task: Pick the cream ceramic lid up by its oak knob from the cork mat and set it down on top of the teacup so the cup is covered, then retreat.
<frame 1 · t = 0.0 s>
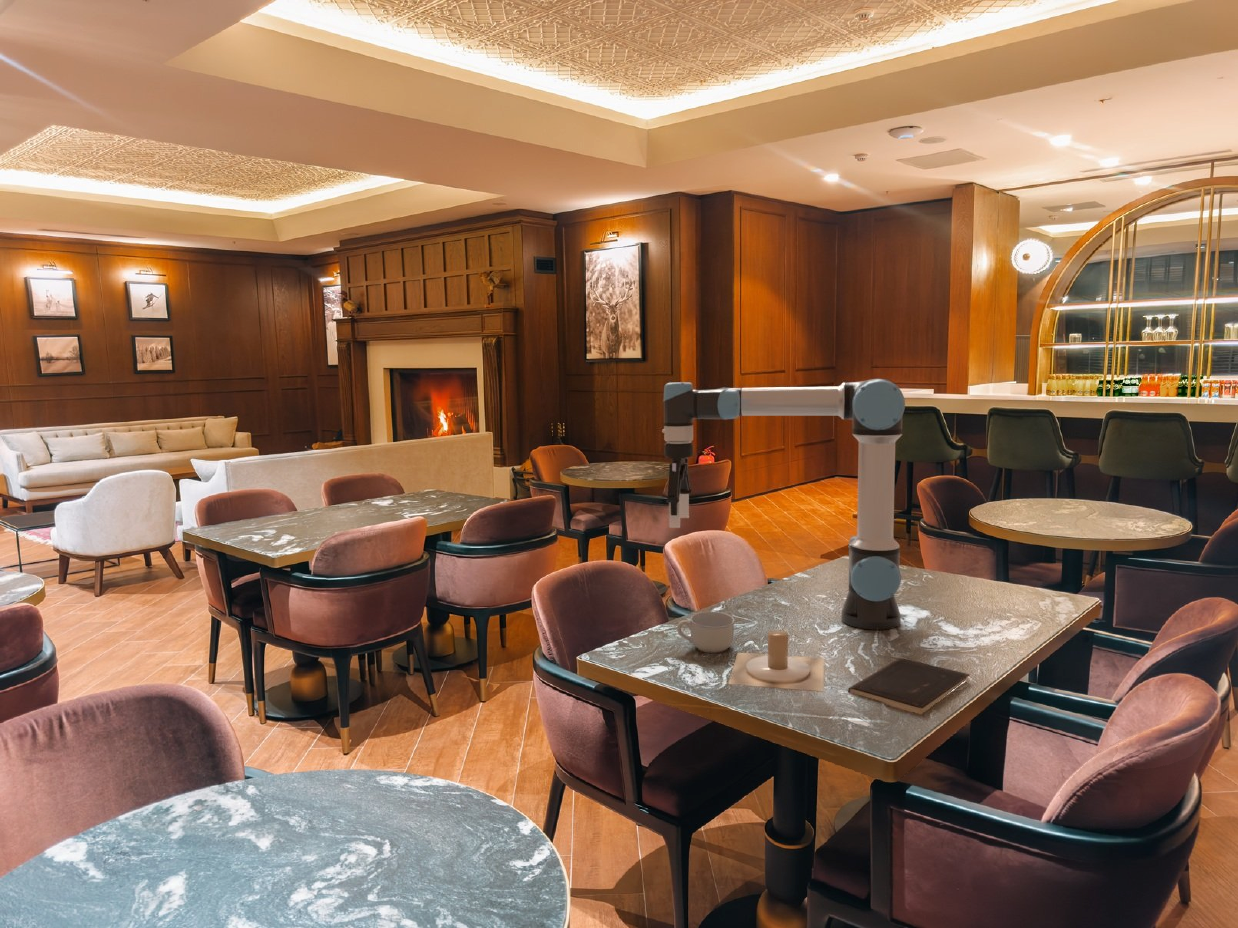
hand: (679, 522, 216), 28 cm above the table, fingers open, 13 cm apart
lid: (777, 670, 185), resting on mat
teacup: (705, 650, 201), on the table
hardcover book: (909, 691, 175), on the table
mat: (777, 672, 185), on the table
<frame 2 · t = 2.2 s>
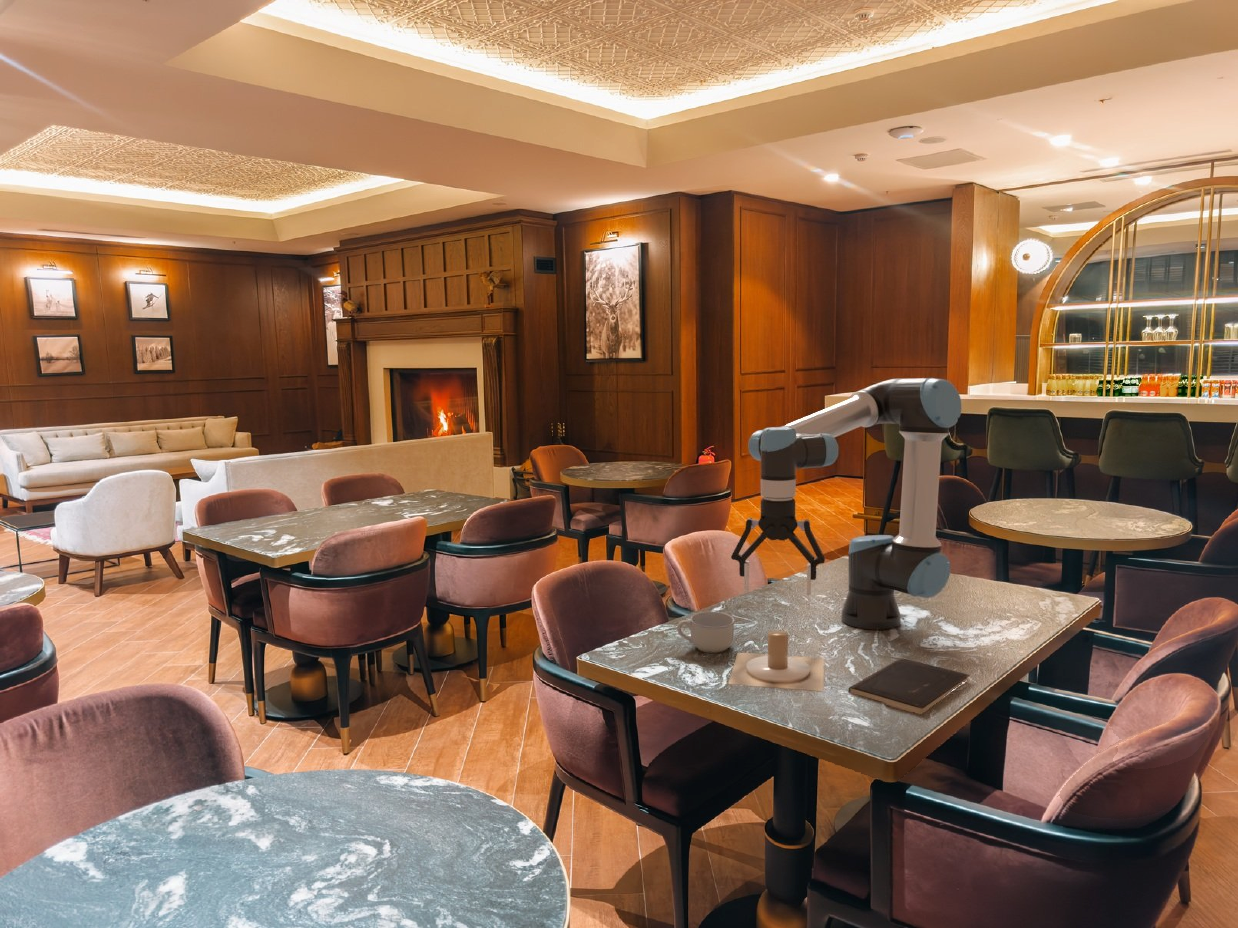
hand: (777, 592, 183), 18 cm above the table, fingers open, 13 cm apart
nothing on the table moved.
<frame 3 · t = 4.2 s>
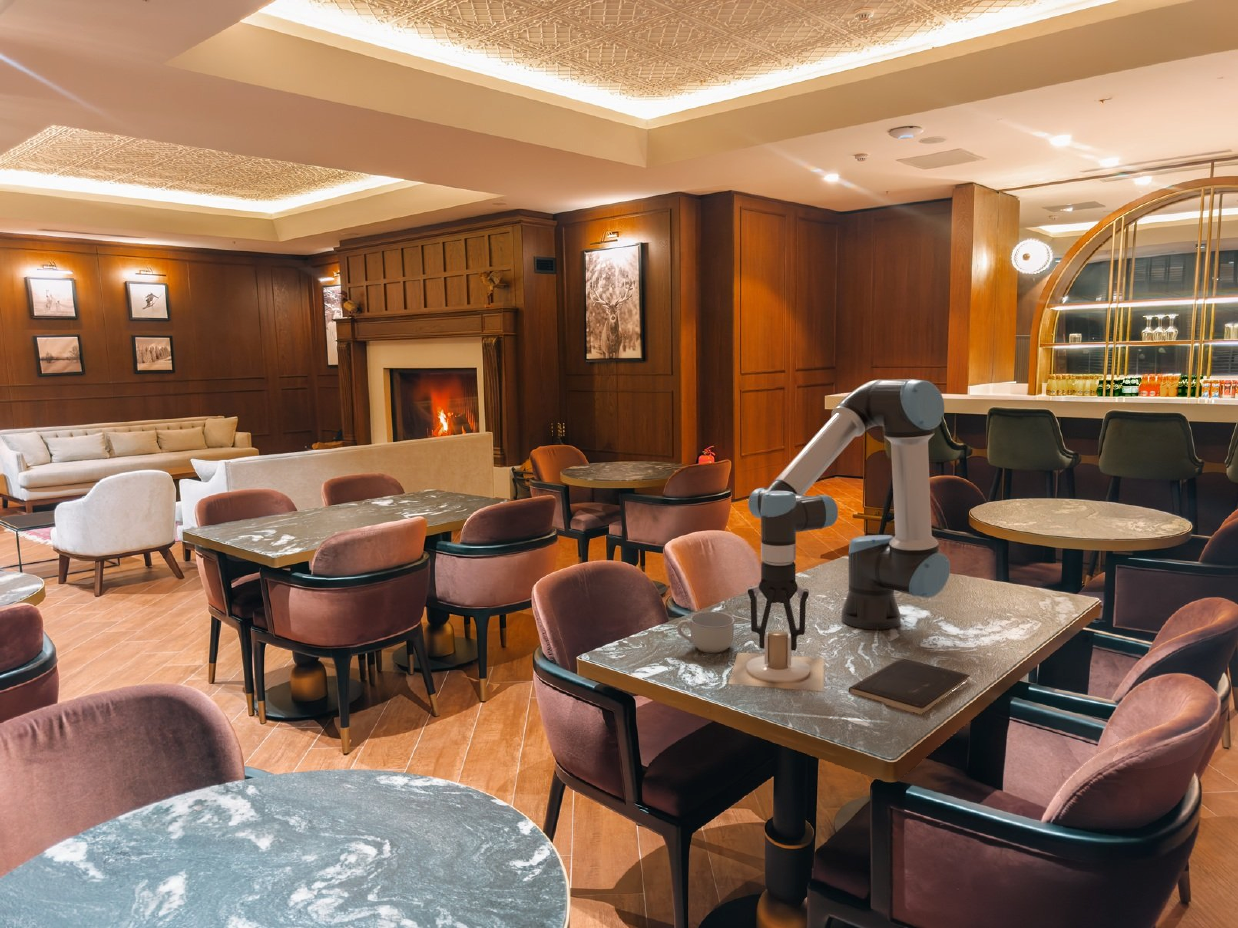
hand: (777, 662, 185), 2 cm above the table, fingers closed on lid, 4 cm apart
lid: (777, 670, 185), resting on mat, touching gripper
everything else where it was.
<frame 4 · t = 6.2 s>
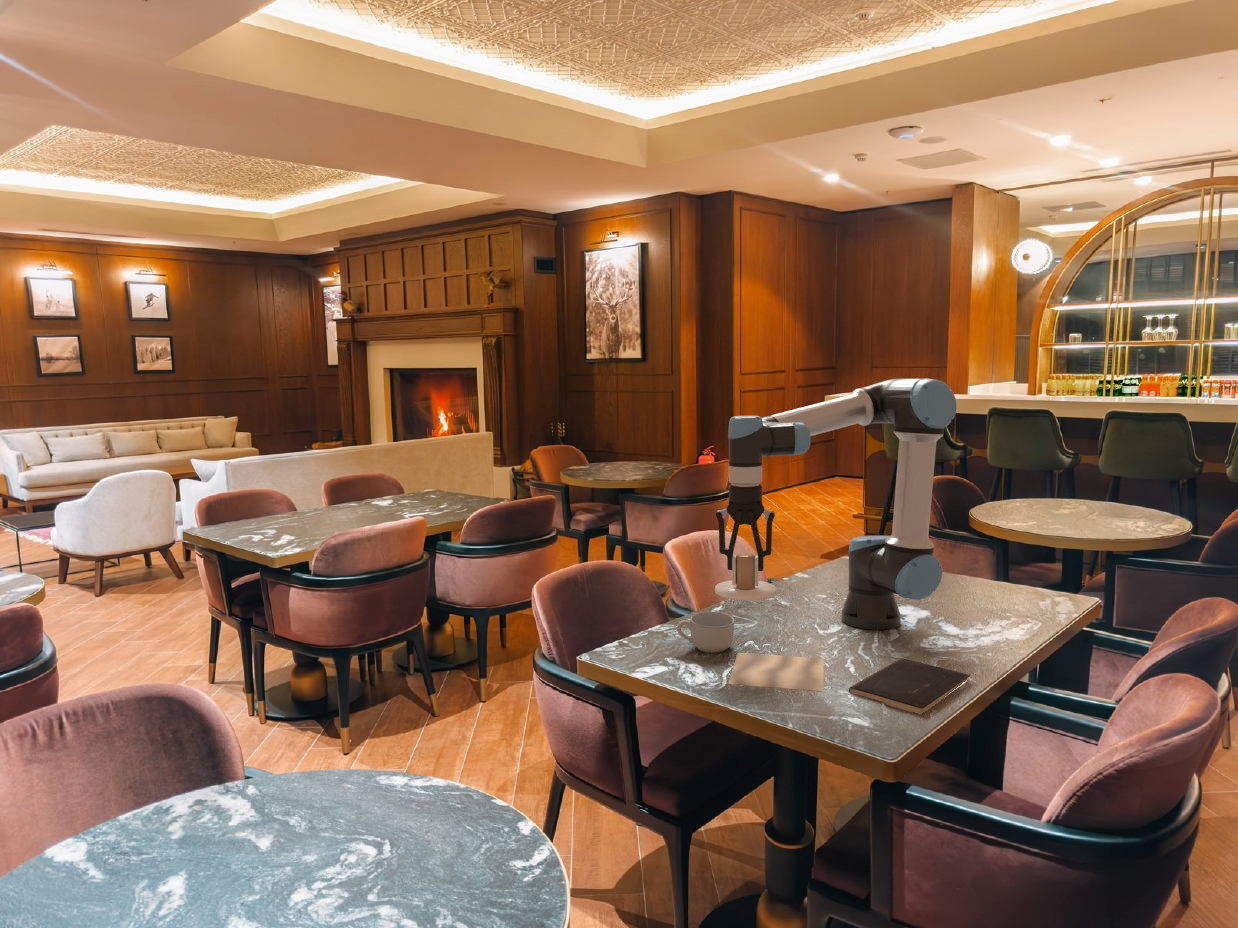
hand: (745, 583, 189), 19 cm above the table, fingers closed on lid, 4 cm apart
lid: (745, 591, 190), point 17 cm above the table, touching gripper
everything else where it was.
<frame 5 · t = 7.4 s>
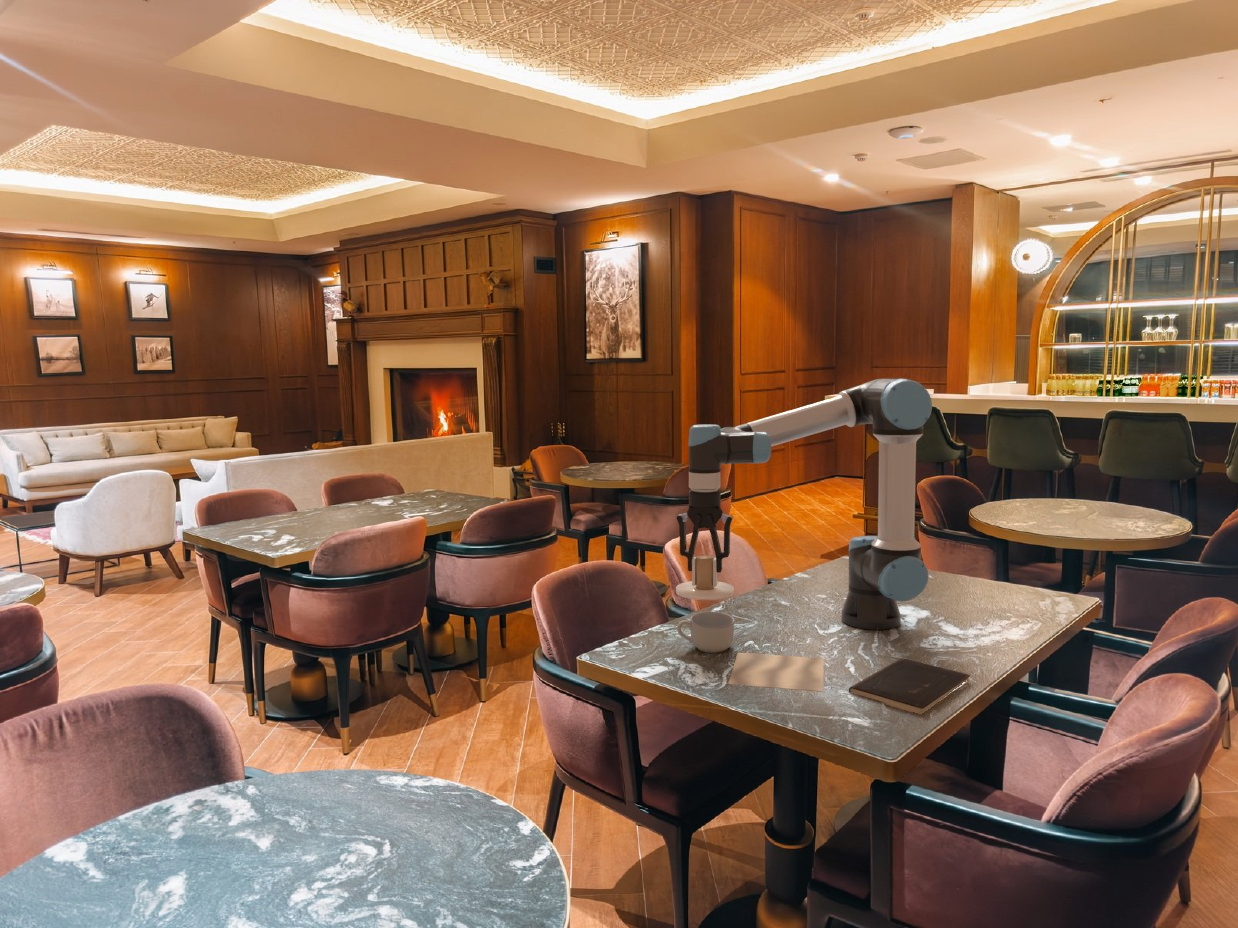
hand: (704, 584, 199), 16 cm above the table, fingers closed on lid, 4 cm apart
lid: (704, 591, 199), point 14 cm above the table, touching gripper
everything else where it was.
when the fingers open (11 cm above the table, at t = 8.4 s): lid drops 2 cm, resting on teacup.
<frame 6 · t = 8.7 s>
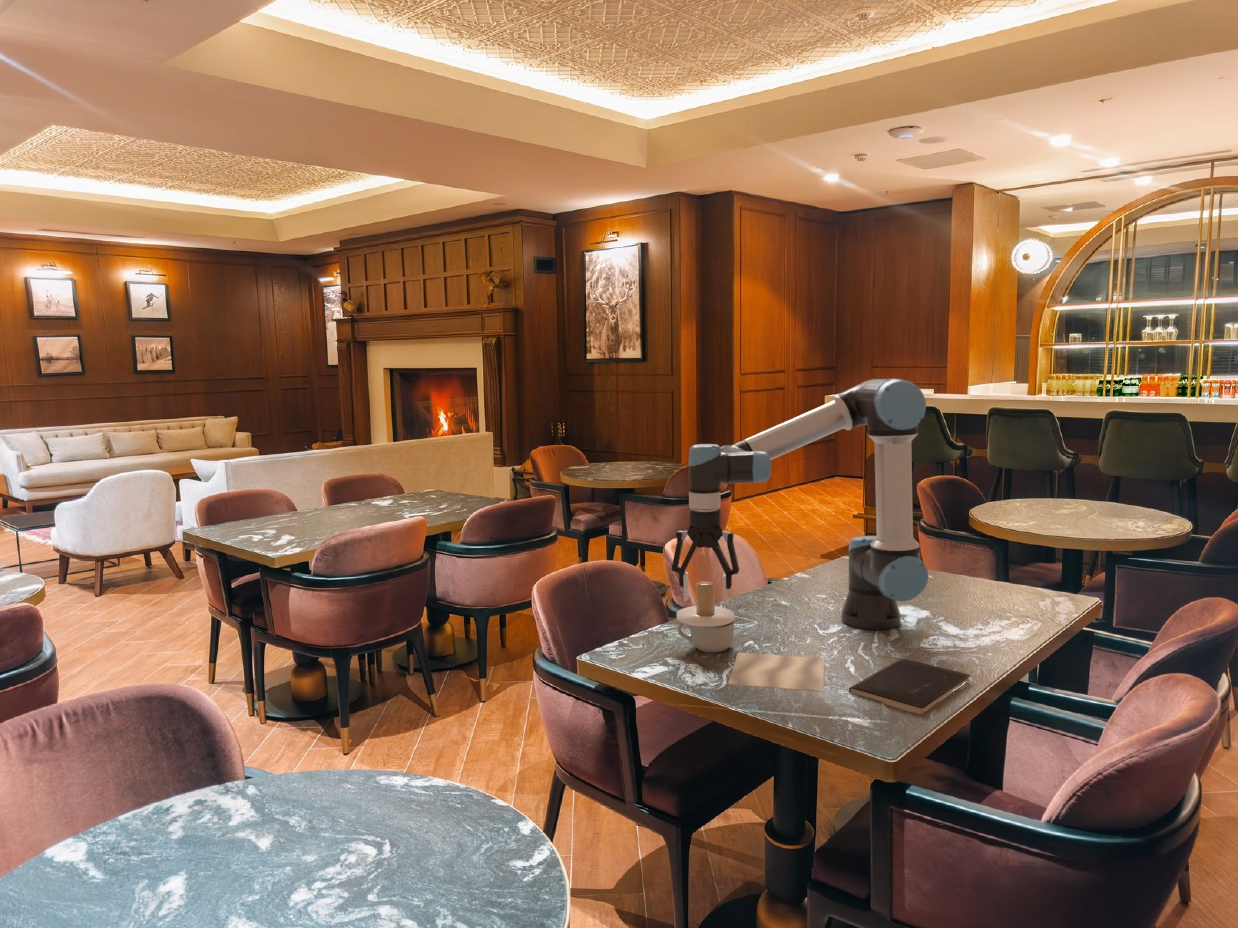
hand: (705, 600, 199), 12 cm above the table, fingers open, 9 cm apart
lid: (705, 617, 200), point 8 cm above the table, touching teacup
teacup: (705, 650, 201), on the table, touching lid
everything else where it was.
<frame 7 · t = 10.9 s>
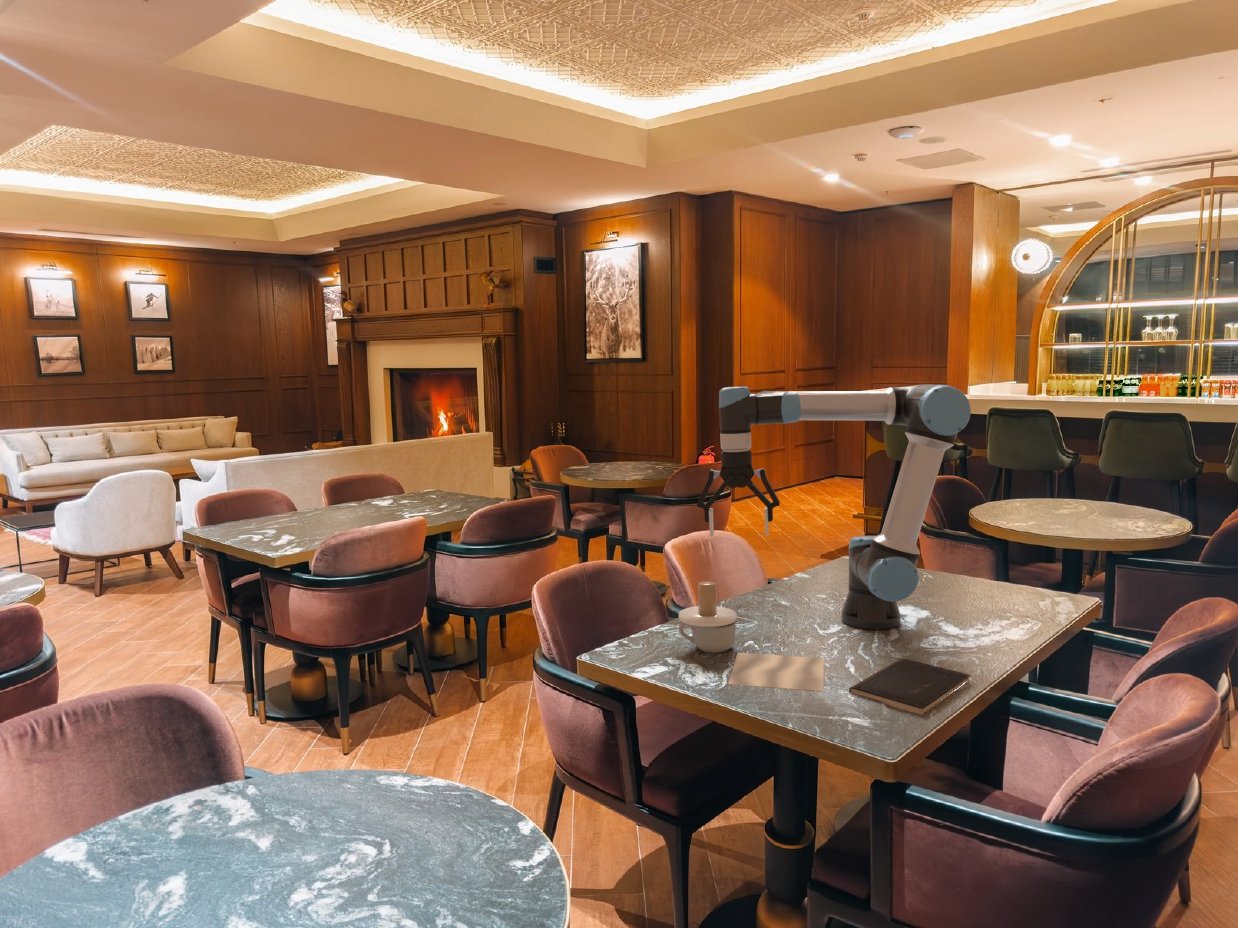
hand: (739, 534, 204), 27 cm above the table, fingers open, 13 cm apart
nothing on the table moved.
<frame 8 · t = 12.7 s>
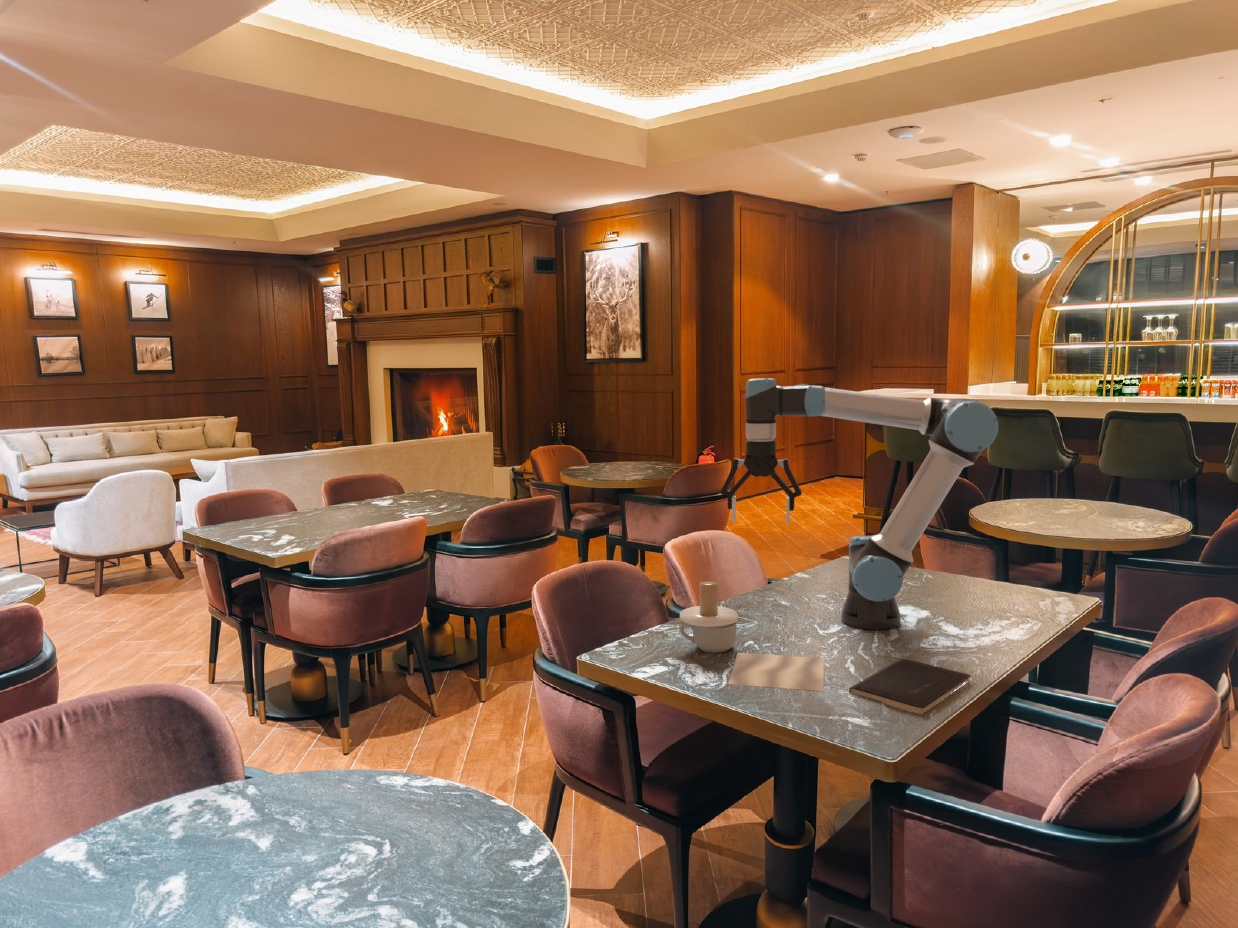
hand: (760, 522, 210), 29 cm above the table, fingers open, 13 cm apart
nothing on the table moved.
at the end: lid inside the target area in the teacup (0.2 cm from its centre), point 8.2 cm above the teacup's base; lid point 7.9 cm above the table; teacup tilted 0° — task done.
